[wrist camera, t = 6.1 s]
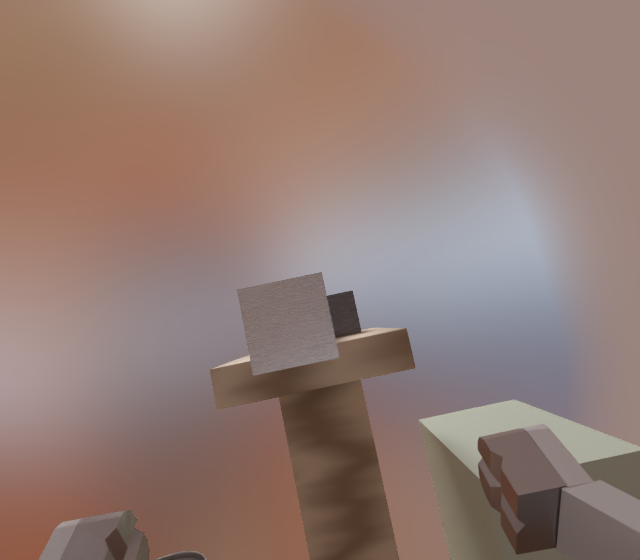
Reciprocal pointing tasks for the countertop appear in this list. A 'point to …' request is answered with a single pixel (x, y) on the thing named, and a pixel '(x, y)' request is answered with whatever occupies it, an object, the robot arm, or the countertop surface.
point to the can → (184, 556)
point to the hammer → (295, 322)
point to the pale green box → (465, 486)
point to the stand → (330, 439)
